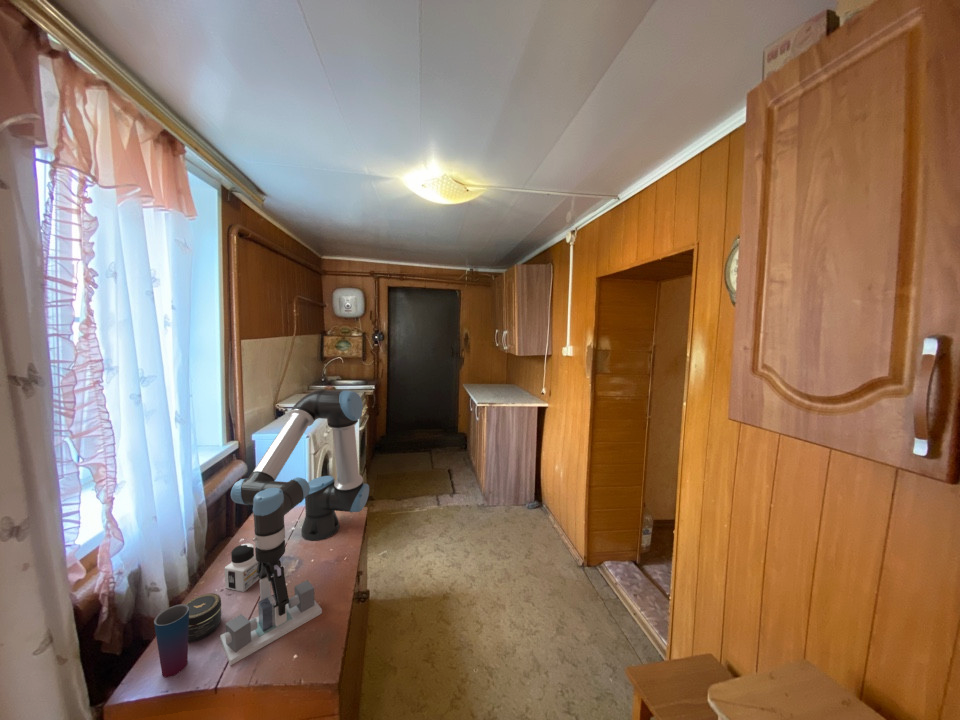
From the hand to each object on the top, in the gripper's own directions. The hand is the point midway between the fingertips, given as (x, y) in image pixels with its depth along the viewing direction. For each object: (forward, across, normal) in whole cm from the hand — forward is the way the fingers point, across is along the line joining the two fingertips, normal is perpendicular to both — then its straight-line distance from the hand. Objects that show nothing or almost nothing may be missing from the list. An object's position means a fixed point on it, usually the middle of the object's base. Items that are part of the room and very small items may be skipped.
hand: (273, 609), depth 105 cm
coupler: (+3, 0, 0) cm, 3 cm away
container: (+5, -27, -1) cm, 27 cm away
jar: (+5, -14, -15) cm, 21 cm away
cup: (+5, -4, -22) cm, 23 cm away
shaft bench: (+5, 0, 0) cm, 5 cm away
